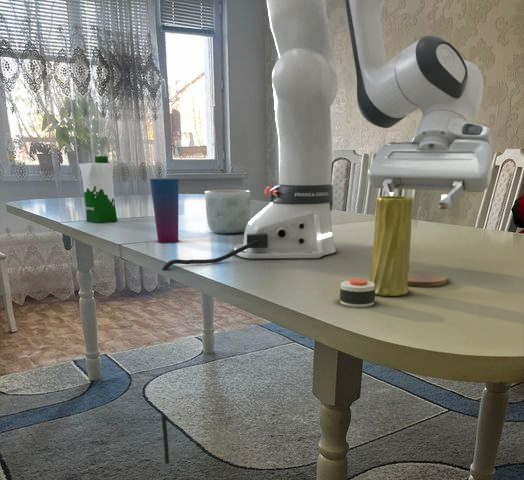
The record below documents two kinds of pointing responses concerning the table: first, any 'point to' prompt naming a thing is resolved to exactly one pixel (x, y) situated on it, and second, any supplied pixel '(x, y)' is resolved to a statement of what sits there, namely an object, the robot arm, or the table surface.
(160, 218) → the cup
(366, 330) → the table surface
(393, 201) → the vase
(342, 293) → the sushi
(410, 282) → the coaster
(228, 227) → the planter
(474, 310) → the table surface
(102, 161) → the milk carton
